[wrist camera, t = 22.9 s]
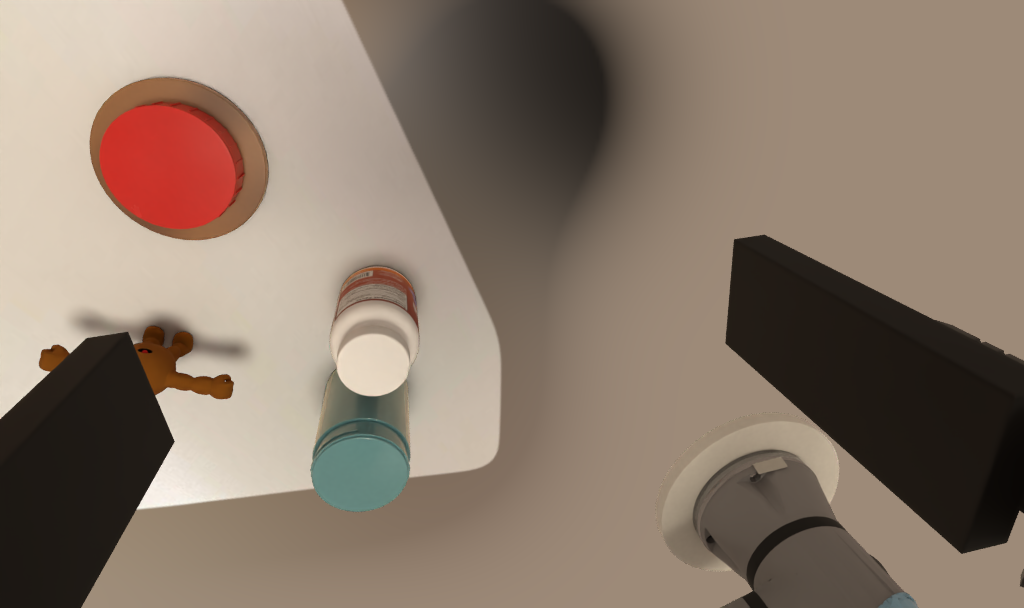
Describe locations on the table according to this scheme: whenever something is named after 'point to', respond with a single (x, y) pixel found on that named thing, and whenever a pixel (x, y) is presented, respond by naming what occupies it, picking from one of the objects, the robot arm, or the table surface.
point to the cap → (171, 165)
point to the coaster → (221, 112)
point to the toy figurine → (159, 365)
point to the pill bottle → (375, 331)
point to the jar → (361, 447)
